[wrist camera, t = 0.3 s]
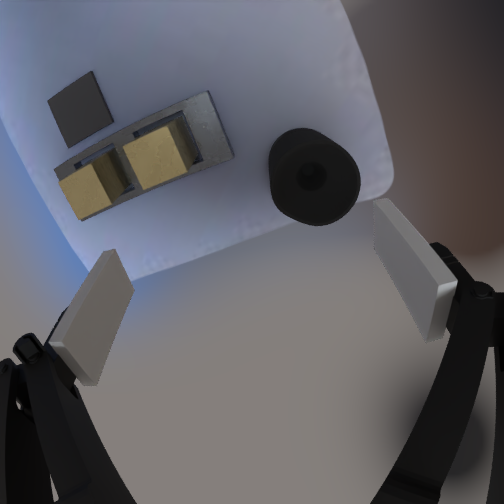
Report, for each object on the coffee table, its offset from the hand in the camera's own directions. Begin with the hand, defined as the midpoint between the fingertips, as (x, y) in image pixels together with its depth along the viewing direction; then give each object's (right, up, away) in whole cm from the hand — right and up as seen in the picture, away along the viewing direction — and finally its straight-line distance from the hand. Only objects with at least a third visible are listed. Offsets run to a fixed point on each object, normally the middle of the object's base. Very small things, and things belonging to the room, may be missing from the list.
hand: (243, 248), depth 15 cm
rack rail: (-15, +12, +24) cm, 31 cm away
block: (-10, +14, +23) cm, 29 cm away
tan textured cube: (-19, +11, +25) cm, 33 cm away
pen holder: (+7, +12, +25) cm, 28 cm away
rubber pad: (-23, +19, +20) cm, 36 cm away
